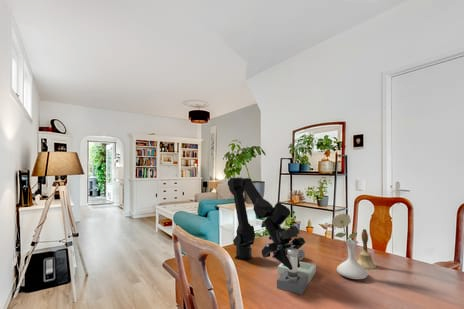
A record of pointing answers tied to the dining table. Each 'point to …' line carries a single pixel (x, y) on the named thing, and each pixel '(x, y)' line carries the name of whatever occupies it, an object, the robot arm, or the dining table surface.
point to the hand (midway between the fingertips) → (295, 268)
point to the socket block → (292, 283)
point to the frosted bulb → (293, 264)
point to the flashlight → (299, 253)
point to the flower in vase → (350, 265)
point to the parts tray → (301, 269)
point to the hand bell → (365, 254)
